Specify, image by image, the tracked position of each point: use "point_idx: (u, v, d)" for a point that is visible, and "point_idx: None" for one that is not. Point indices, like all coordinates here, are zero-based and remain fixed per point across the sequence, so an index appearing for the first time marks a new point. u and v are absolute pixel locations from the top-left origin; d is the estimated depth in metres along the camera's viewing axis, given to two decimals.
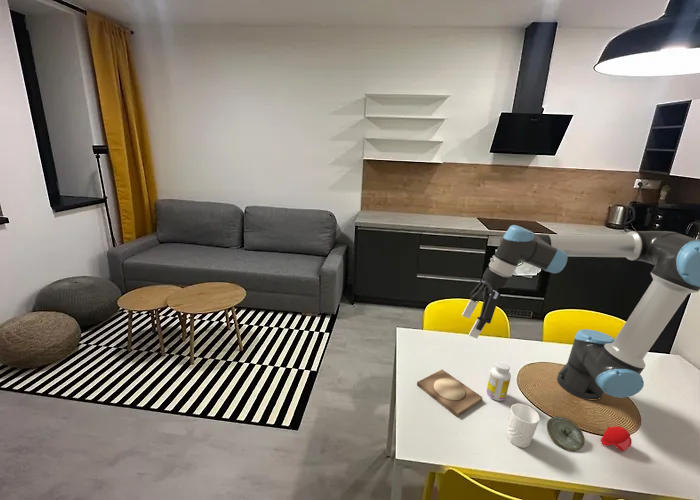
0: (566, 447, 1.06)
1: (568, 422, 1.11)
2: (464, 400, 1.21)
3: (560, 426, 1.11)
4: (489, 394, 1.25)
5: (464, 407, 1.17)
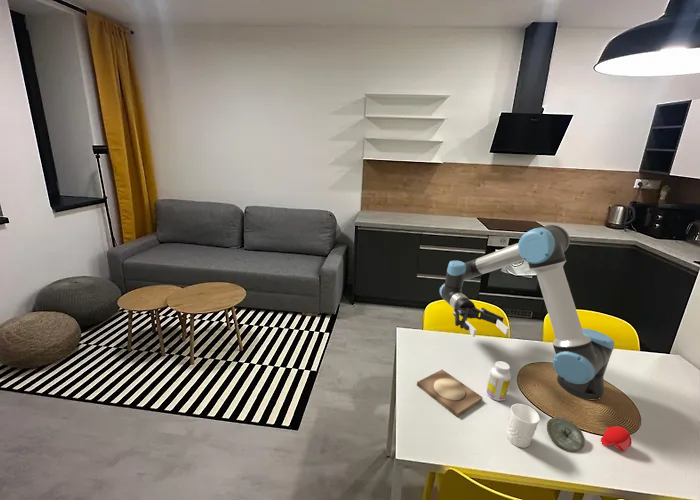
0: (566, 448, 1.05)
1: (568, 423, 1.11)
2: (464, 400, 1.21)
3: (560, 427, 1.11)
4: (489, 394, 1.25)
5: (464, 407, 1.17)
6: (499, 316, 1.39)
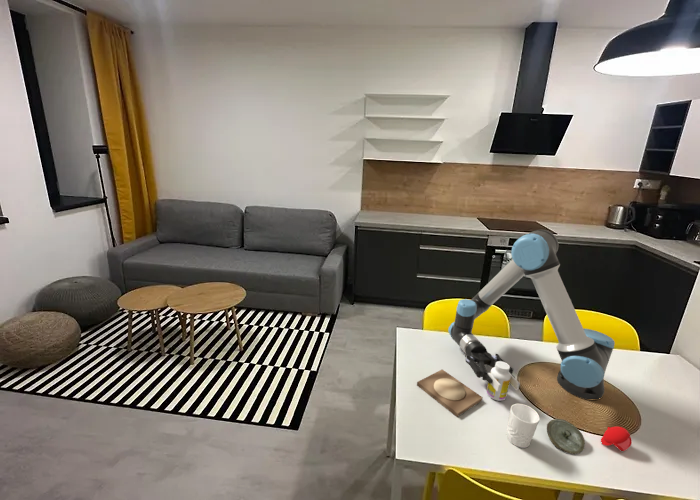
0: (566, 450, 1.05)
1: (568, 424, 1.10)
2: (464, 400, 1.21)
3: (560, 429, 1.10)
4: (489, 394, 1.25)
5: (464, 407, 1.17)
6: None
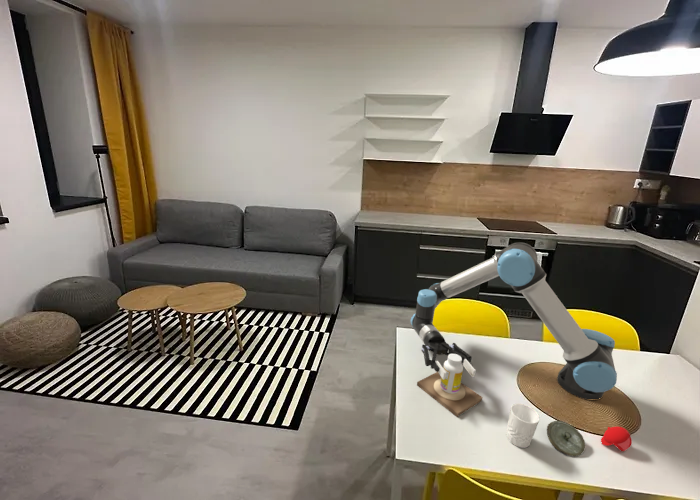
0: (567, 452, 1.04)
1: (568, 426, 1.10)
2: (464, 400, 1.21)
3: (560, 430, 1.09)
4: (442, 387, 1.24)
5: (464, 407, 1.17)
6: (468, 354, 1.28)
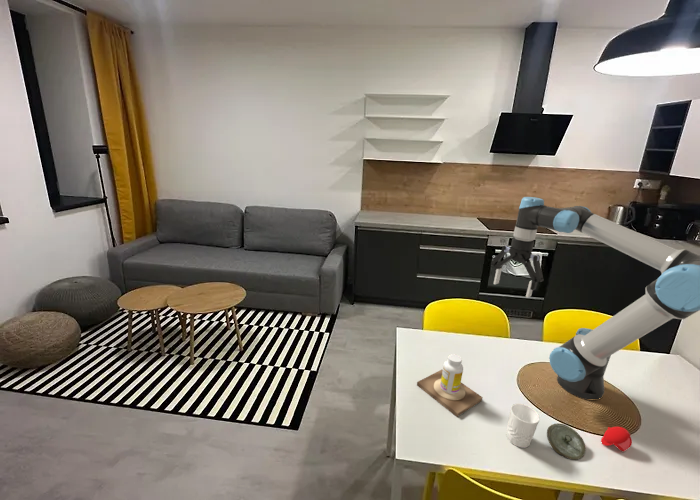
0: (567, 456, 1.03)
1: (568, 429, 1.09)
2: (464, 400, 1.21)
3: (560, 433, 1.08)
4: (442, 387, 1.24)
5: (464, 407, 1.17)
6: (538, 277, 1.28)
